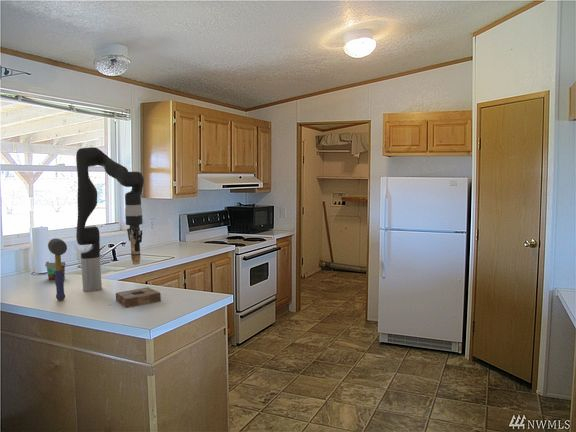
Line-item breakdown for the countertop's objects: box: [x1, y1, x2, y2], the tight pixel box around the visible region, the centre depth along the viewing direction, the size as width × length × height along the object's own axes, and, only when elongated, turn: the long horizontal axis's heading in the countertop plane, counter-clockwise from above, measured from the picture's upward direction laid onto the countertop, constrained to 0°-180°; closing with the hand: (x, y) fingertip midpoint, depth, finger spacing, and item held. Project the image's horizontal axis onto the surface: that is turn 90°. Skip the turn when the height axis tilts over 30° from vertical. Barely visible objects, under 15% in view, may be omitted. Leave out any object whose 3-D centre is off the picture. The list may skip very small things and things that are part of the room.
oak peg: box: [130, 234, 141, 265], centre depth 221 cm, size 4×4×14 cm
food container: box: [45, 260, 67, 281], centre depth 275 cm, size 12×6×10 cm, turn 76°
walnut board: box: [115, 287, 162, 309], centre depth 223 cm, size 15×16×4 cm
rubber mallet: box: [47, 238, 68, 302], centre depth 226 cm, size 12×8×30 cm, turn 34°
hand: (135, 250), depth 221 cm, fingers closed on oak peg, 4 cm apart
